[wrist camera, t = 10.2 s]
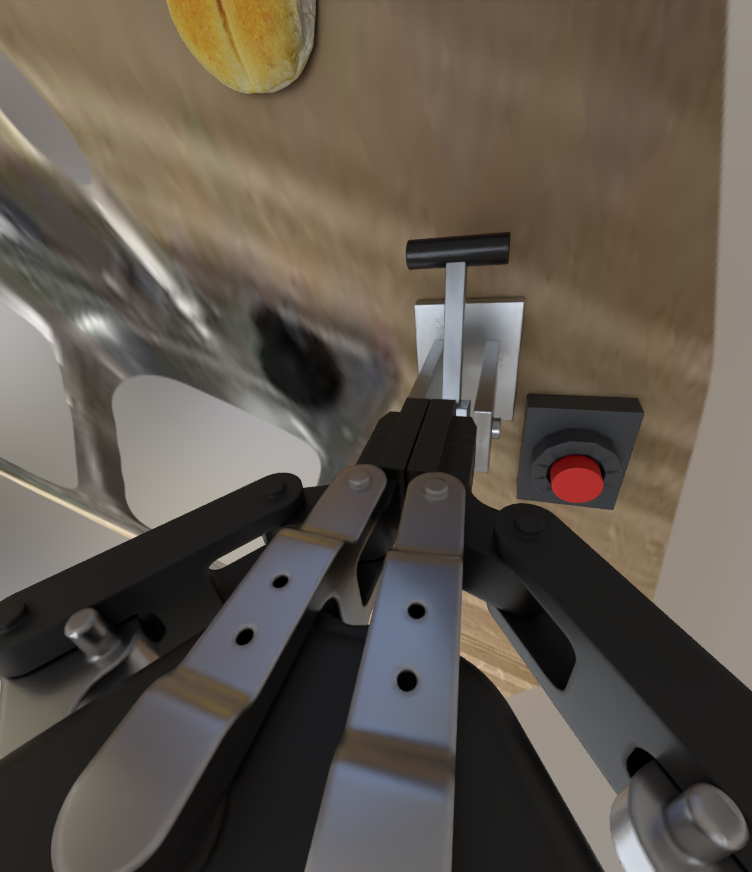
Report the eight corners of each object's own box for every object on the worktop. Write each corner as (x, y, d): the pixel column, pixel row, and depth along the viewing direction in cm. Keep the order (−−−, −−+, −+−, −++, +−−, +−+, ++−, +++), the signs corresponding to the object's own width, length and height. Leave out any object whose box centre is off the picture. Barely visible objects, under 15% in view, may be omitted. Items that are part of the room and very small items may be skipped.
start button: (553, 452, 31) (555, 465, 29) (604, 456, 30) (608, 470, 28) (547, 486, 33) (548, 500, 31) (595, 490, 32) (598, 506, 30)
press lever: (413, 243, 23) (403, 236, 21) (510, 235, 21) (510, 227, 19) (412, 436, 27) (403, 448, 25) (494, 443, 25) (493, 455, 23)
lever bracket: (417, 300, 31) (373, 362, 22) (524, 296, 28) (526, 365, 19) (422, 408, 36) (389, 494, 27) (512, 413, 34) (510, 509, 25)
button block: (527, 393, 32) (528, 419, 29) (637, 398, 30) (651, 426, 27) (516, 483, 38) (516, 512, 35) (608, 493, 36) (617, 525, 32)
